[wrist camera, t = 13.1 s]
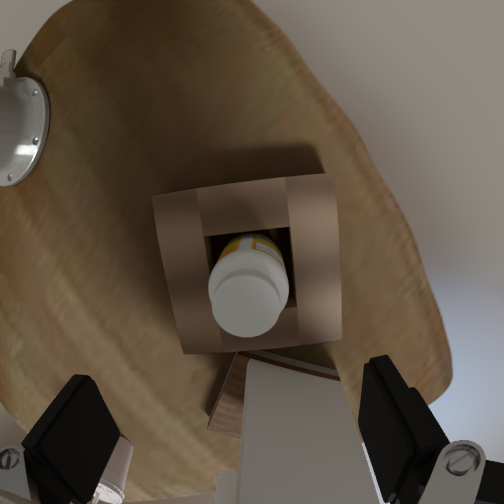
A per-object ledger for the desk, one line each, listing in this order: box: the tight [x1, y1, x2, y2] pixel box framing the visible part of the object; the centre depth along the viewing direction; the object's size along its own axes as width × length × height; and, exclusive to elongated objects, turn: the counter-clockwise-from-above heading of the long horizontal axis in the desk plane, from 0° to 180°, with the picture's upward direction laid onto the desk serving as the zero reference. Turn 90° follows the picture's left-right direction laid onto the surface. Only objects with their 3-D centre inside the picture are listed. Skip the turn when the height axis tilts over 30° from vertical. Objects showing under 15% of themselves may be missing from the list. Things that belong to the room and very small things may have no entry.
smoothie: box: [92, 436, 133, 504], centre depth 27 cm, size 6×6×14 cm
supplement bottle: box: [208, 233, 289, 337], centre depth 22 cm, size 5×5×10 cm
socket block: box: [151, 173, 342, 354], centre depth 25 cm, size 14×14×3 cm
